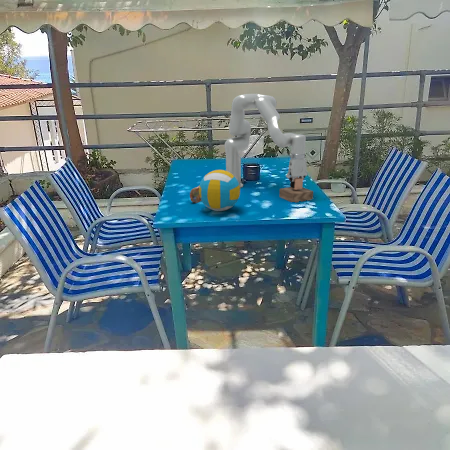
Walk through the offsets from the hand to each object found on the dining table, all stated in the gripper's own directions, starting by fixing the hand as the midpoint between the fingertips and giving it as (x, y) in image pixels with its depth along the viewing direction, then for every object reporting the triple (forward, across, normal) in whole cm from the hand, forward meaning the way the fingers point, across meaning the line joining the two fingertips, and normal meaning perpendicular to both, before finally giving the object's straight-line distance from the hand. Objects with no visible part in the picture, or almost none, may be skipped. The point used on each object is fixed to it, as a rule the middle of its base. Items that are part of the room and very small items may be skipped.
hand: (296, 186), depth 242 cm
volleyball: (+7, -50, 0) cm, 50 cm away
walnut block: (+7, 0, 0) cm, 7 cm away
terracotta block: (+1, 0, 0) cm, 1 cm away
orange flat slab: (+7, -53, +22) cm, 58 cm away
